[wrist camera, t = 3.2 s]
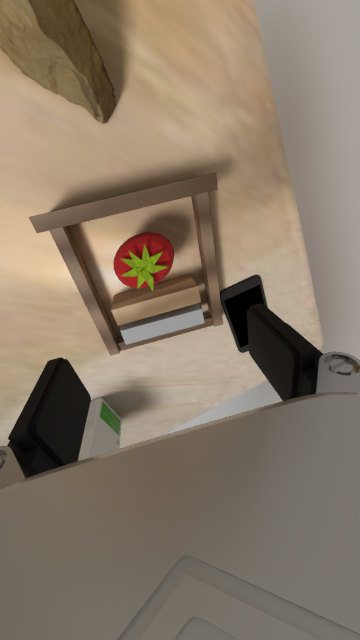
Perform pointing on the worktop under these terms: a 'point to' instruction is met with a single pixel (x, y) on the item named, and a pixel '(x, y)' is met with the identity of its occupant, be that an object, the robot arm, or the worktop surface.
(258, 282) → the smartphone
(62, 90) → the rock
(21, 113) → the worktop surface
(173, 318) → the outer offcut board
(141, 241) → the strawberry
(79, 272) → the rack
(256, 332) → the robot arm
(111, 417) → the skincare box
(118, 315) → the inner offcut board
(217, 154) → the worktop surface
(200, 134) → the worktop surface
